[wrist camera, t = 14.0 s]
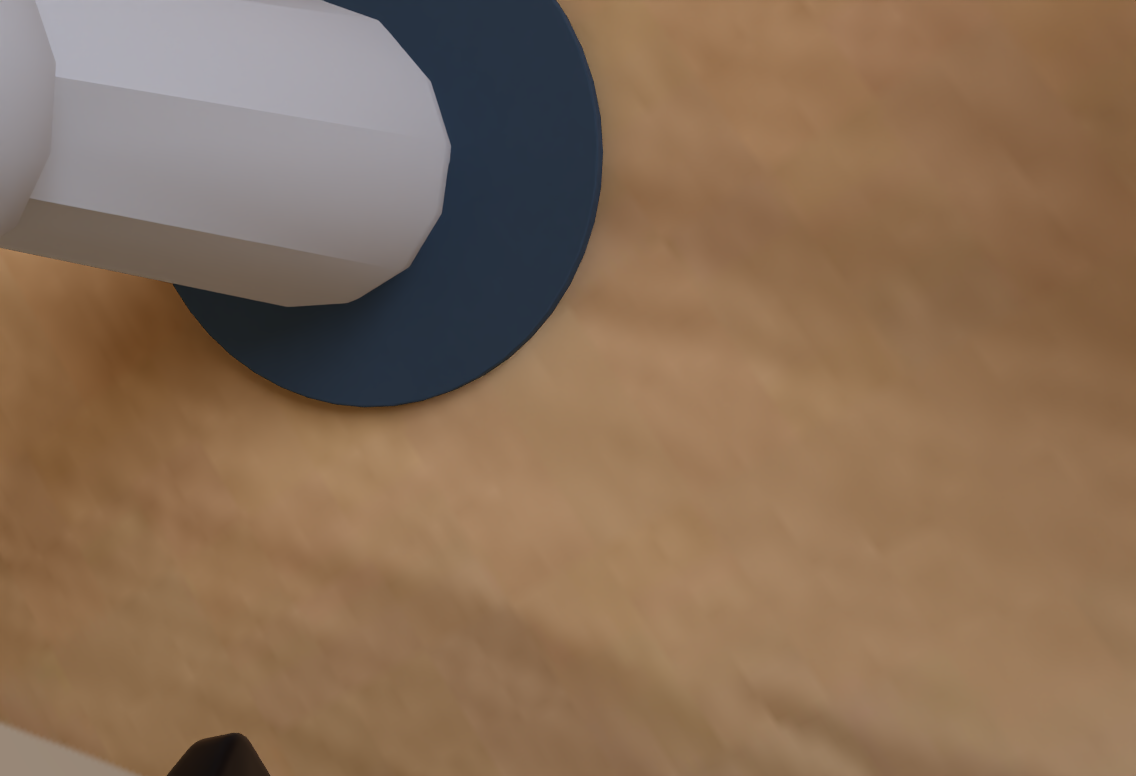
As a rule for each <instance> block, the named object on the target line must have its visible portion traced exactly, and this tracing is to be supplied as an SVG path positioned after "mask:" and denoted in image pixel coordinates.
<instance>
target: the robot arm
mask: <svg viewBox="0 0 1136 776" xmlns="http://www.w3.org/2000/svg"><path fill="white" fill-rule="evenodd" d="M167 776H270V774H269V773H268V771H267V769H266V768H265V766H264V764H263V763H262V761H261V759H260V758H259V756H258V754H257V753H256V751H255V749H254V748H253V746H252V744H251V743H250V741H249V740H248V739H247V737H245V736H244V735H242V734H240V733H230V734H225V735H220V736H215V737H210V738H205V739H202V740H199V741H197V742H196V743H195V744H193V745H192V746H191V747H190V748H189V749H188V750H187V751H186V753H185V754H184V755H183V756H182V757H181V759H180V760H179V761H178V762H177V764H176V765H175V766H174V767H173V768H172V770H171V771H170V772H169V773H168V775H167Z"/></svg>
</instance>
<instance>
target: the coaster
mask: <svg viewBox="0 0 1136 776" xmlns="http://www.w3.org/2000/svg"><path fill="white" fill-rule="evenodd" d="M322 1H325V2H328V3H331V4H333V5H336V6H339V7H342V8H345V9H348V10H350V11H353V12H356V13H359V14H362V15H364V16H367V17H370V18H373V19H376V20H378V21H379V22H380V23H381V24H382V25H383V26H384V27H385V28H386V29H387V30H388V32H389V33H390V34H391V35H392V36H393V37H394V39H395V40H396V41H397V42H398V43H399V45H400V46H401V47H402V48H403V49H404V50H405V52H406V53H407V54H408V55H409V56H410V58H411V59H412V60H413V61H414V62H415V64H416V65H417V66H418V67H419V68H420V69H421V71H422V72H423V73H424V74H425V75H426V77H427V78H428V79H429V80H430V81H431V84H432V87H433V90H434V93H435V96H436V100H437V103H438V106H439V109H440V112H441V115H442V119H443V122H444V125H445V128H446V131H447V135H448V138H449V141H450V144H451V152H450V162H449V165H448V172H447V179H446V186H445V194H444V201H443V208H442V214H441V215H440V217H439V219H438V220H437V222H436V224H435V225H434V227H433V229H432V230H431V232H430V234H429V235H428V237H427V239H426V240H425V242H424V244H423V245H422V247H421V248H420V250H419V252H418V253H417V255H416V257H415V258H414V260H413V262H412V263H411V265H410V267H409V268H407V269H405V270H404V271H402V272H401V273H399V274H397V275H396V276H394V277H392V278H391V279H389V280H388V281H386V282H384V283H383V284H381V285H380V286H378V287H376V288H375V289H373V290H371V291H370V292H368V293H367V294H365V295H363V296H362V297H360V298H359V299H356V300H354V301H351V302H349V303H342V304H326V305H311V306H295V307H285V306H280V305H276V304H271V303H266V302H261V301H256V300H251V299H247V298H242V297H237V296H232V295H227V294H222V293H217V292H213V291H208V290H203V289H198V288H193V287H188V286H184V285H179V284H174V283H173V285H174V287H175V289H176V290H177V292H178V293H179V295H180V296H181V298H182V300H183V301H184V303H185V304H186V306H187V307H188V309H189V310H190V312H191V313H192V314H193V315H194V317H195V318H196V319H197V320H198V321H199V323H200V324H201V325H202V326H203V328H204V329H205V330H206V331H207V332H208V334H209V335H210V336H211V337H212V338H213V339H215V340H216V341H217V342H218V343H219V344H220V345H221V346H222V347H223V348H224V349H225V350H226V351H227V352H228V353H229V354H230V355H232V356H233V357H234V358H236V359H237V360H238V361H240V362H241V363H242V364H244V365H245V366H247V367H248V368H249V369H251V370H252V371H253V372H255V373H256V374H258V375H260V376H262V377H264V378H265V379H267V380H269V381H271V382H273V383H275V384H276V385H278V386H280V387H282V388H285V389H287V390H290V391H292V392H295V393H297V394H300V395H303V396H305V397H308V398H312V399H316V400H320V401H324V402H328V403H332V404H337V405H347V406H357V407H383V406H397V405H402V404H408V403H413V402H418V401H423V400H426V399H429V398H432V397H435V396H438V395H441V394H444V393H447V392H450V391H453V390H455V389H458V388H460V387H462V386H464V385H466V384H468V383H470V382H472V381H474V380H476V379H478V378H480V377H482V376H484V375H485V374H487V373H488V372H489V371H491V370H492V369H494V368H495V367H497V366H498V365H500V364H501V363H502V362H504V361H505V360H507V359H508V358H510V357H511V356H512V355H513V354H514V353H515V352H516V351H517V350H518V349H519V348H520V347H522V346H523V345H524V344H525V343H526V342H527V341H528V340H529V339H530V338H531V337H532V336H533V335H534V334H535V333H536V332H537V330H538V329H539V328H540V327H541V326H542V324H543V323H544V322H545V321H546V320H547V318H548V317H549V316H550V315H551V314H552V312H553V311H554V309H555V308H556V306H557V305H558V303H559V301H560V300H561V298H562V297H563V295H564V293H565V292H566V290H567V289H568V287H569V286H570V284H571V282H572V279H573V277H574V275H575V273H576V271H577V269H578V267H579V264H580V262H581V260H582V258H583V256H584V253H585V250H586V247H587V244H588V241H589V238H590V235H591V231H592V228H593V225H594V222H595V217H596V211H597V206H598V201H599V195H600V190H601V177H602V160H603V146H602V131H601V117H600V112H599V107H598V102H597V96H596V91H595V86H594V82H593V79H592V76H591V73H590V70H589V67H588V64H587V61H586V58H585V55H584V52H583V49H582V47H581V44H580V42H579V40H578V38H577V36H576V34H575V32H574V30H573V28H572V26H571V24H570V22H569V20H568V18H567V16H566V14H565V13H564V11H563V10H562V8H561V7H560V5H559V4H558V2H557V1H556V0H322Z"/></svg>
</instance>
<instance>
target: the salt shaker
mask: <svg viewBox="0 0 1136 776" xmlns="http://www.w3.org/2000/svg"><path fill="white" fill-rule="evenodd" d="M450 152H451V144H450V141H449V138H448V135H447V131H446V128H445V125H444V122H443V119H442V115H441V112H440V109H439V106H438V103H437V100H436V96H435V93H434V90H433V87H432V84H431V81H430V80H429V79H428V78H427V77H426V75H425V74H424V73H423V72H422V71H421V69H420V68H419V67H418V66H417V65H416V64H415V62H414V61H413V60H412V59H411V58H410V56H409V55H408V54H407V53H406V52H405V50H404V49H403V48H402V47H401V46H400V45H399V43H398V42H397V41H396V40H395V39H394V37H393V36H392V35H391V34H390V33H389V32H388V30H387V29H386V28H385V27H384V26H383V25H382V24H381V23H380V22H379V21H378V20H376V19H373V18H370V17H367V16H364V15H362V14H359V13H356V12H353V11H350V10H348V9H345V8H342V7H339V6H336V5H333V4H331V3H328V2H325V1H322V0H0V248H4V249H9V250H14V251H19V252H24V253H28V254H33V255H38V256H43V257H48V258H53V259H58V260H62V261H67V262H72V263H77V264H82V265H87V266H91V267H96V268H101V269H106V270H111V271H116V272H121V273H125V274H130V275H135V276H140V277H145V278H150V279H154V280H159V281H164V282H169V283H174V284H179V285H184V286H188V287H193V288H198V289H203V290H208V291H213V292H217V293H222V294H227V295H232V296H237V297H242V298H247V299H251V300H256V301H261V302H266V303H271V304H276V305H280V306H285V307H295V306H311V305H326V304H342V303H349V302H351V301H354V300H356V299H359V298H360V297H362V296H363V295H365V294H367V293H368V292H370V291H371V290H373V289H375V288H376V287H378V286H380V285H381V284H383V283H384V282H386V281H388V280H389V279H391V278H392V277H394V276H396V275H397V274H399V273H401V272H402V271H404V270H405V269H407V268H409V267H410V265H411V263H412V262H413V260H414V258H415V257H416V255H417V253H418V252H419V250H420V248H421V247H422V245H423V244H424V242H425V240H426V239H427V237H428V235H429V234H430V232H431V230H432V229H433V227H434V225H435V224H436V222H437V220H438V219H439V217H440V215H441V214H442V208H443V201H444V194H445V186H446V179H447V172H448V165H449V162H450Z"/></svg>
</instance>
